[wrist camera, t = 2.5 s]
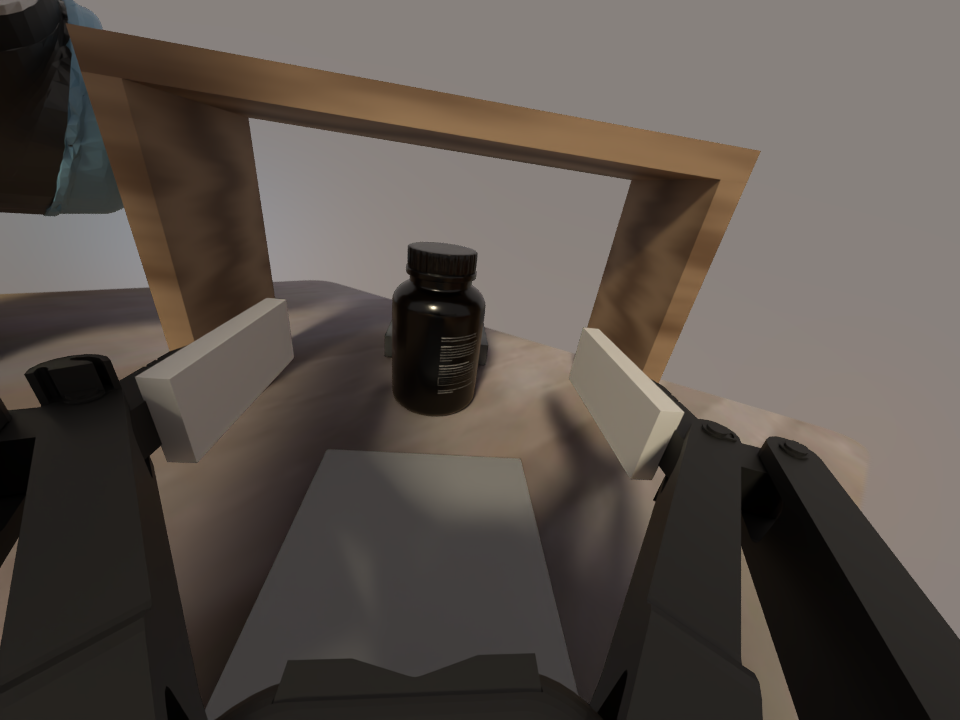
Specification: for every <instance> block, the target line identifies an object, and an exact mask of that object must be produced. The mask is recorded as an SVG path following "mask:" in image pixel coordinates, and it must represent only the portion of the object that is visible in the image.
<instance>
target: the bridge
mask: <svg viewBox="0 0 960 720" xmlns="http://www.w3.org/2000/svg"><path fill="white" fill-rule="evenodd" d="M66 26H67V29H68V33H69V36H70V39H71V42H72V45H73V48H74V51H75V55H76V58H77V61H78V64H79V67H80V70H81V73H82V77H83V80H84V83H85V86H86V89H87V92H88V95H89V99H90V102H91V105H92V108H93V111H94V114H95V117H96V121H97V124H98V127H99V130H100V133H101V136H102V139H103V143H104V146H105V149H106V152H107V155H108V158H109V161H110V165H111V168H112V171H113V174H114V177H115V180H116V183H117V187H118V190H119V193H120V196H121V199H122V202H123V205H124V208H125V212H126V215H127V218H128V221H129V224H130V227H131V231H132V234H133V237H134V240H135V243H136V246H137V249H138V252H139V256H140V259H141V262H142V265H143V268H144V271H145V274H146V278H147V281H148V284H149V287H150V290H151V294H152V297H153V300H154V303H155V306H156V309H157V312H158V316H159V319H160V322H161V325H162V328H163V331H164V334H165V338H166V341H167V344H168V347H169V350H170V351H172V350H175V349H178V348H181V347H184V346H187V345H189V344H191V343H192V342H194V341H196V340H197V339H199V338H201V337H202V336H204V335H206V334H207V333H209V332H211V331H212V330H214V329H216V328H217V327H219V326H221V325H222V324H224V323H226V322H227V321H229V320H231V319H232V318H234V317H236V316H237V315H239V314H241V313H242V312H244V311H246V310H247V309H249V308H251V307H252V306H254V305H256V304H257V303H259V302H261V301H262V300H264V299H266V298H275V296H274V289H273V282H272V275H271V269H270V262H269V255H268V248H267V241H266V235H265V228H264V221H263V214H262V209H261V201H260V194H259V188H258V181H257V174H256V167H255V160H254V153H253V147H252V140H251V133H250V126H249V120H248V118H255V119H261V120H267V121H273V122H279V123H285V124H292V125H297V126H303V127H310V128H316V129H322V130H328V131H334V132H340V133H347V134H353V135H359V136H365V137H371V138H377V139H383V140H389V141H395V142H402V143H408V144H414V145H420V146H427V147H432V148H438V149H444V150H451V151H457V152H464V153H469V154H475V155H482V156H487V157H493V158H500V159H506V160H512V161H518V162H524V163H530V164H536V165H542V166H549V167H555V168H561V169H567V170H573V171H579V172H585V173H591V174H598V175H604V176H610V177H616V178H622V179H629V180H632V181H631V184H630V187H629V191H628V194H627V197H626V201H625V204H624V207H623V211H622V214H621V218H620V220H619V224H618V227H617V231H616V234H615V237H614V241H613V244H612V247H611V250H610V254H609V257H608V261H607V264H606V267H605V271H604V274H603V277H602V280H601V284H600V287H599V290H598V294H597V297H596V300H595V303H594V307H593V310H592V314H591V317H590V320H589V323H588V327H587V328H595V329H599V330H600V331H601V332H602V333H603V334H604V335H605V336H606V337H607V338H608V339H610V340H611V341H612V342H613V343H614V344H615V345H616V346H617V347H618V348H619V349H620V350H621V351H622V352H623V353H624V354H625V355H626V356H627V357H628V358H629V359H630V360H631V361H632V362H633V363H634V364H635V365H636V366H637V367H638V368H639V369H640V370H641V371H642V372H643V373H644V374H645V375H647V376H648V377H649V378H650V379H652V380H654V381H655V382H657V383H659V381H660V379H661V376H662V374H663V372H664V369H665V367H666V365H667V363H668V360H669V358H670V356H671V354H672V351H673V349H674V347H675V344H676V342H677V340H678V338H679V335H680V333H681V331H682V329H683V326H684V324H685V322H686V319H687V317H688V315H689V313H690V310H691V308H692V306H693V304H694V301H695V299H696V297H697V295H698V292H699V290H700V288H701V286H702V283H703V281H704V279H705V276H706V274H707V272H708V270H709V267H710V265H711V263H712V261H713V258H714V256H715V253H716V251H717V249H718V247H719V245H720V242H721V240H722V238H723V236H724V233H725V231H726V229H727V226H728V224H729V222H730V220H731V217H732V215H733V213H734V211H735V208H736V206H737V204H738V201H739V199H740V197H741V195H742V192H743V190H744V188H745V186H746V183H747V181H748V179H749V176H750V174H751V172H752V170H753V167H754V165H755V163H756V161H757V158H758V156H759V154H760V152H761V151H758V150H752V149H747V148H741V147H736V146H731V145H725V144H719V143H714V142H709V141H703V140H697V139H692V138H686V137H682V136H676V135H670V134H665V133H660V132H654V131H649V130H644V129H638V128H633V127H627V126H622V125H616V124H611V123H606V122H600V121H594V120H589V119H583V118H578V117H573V116H567V115H562V114H557V113H551V112H545V111H540V110H535V109H529V108H524V107H518V106H513V105H508V104H502V103H497V102H491V101H486V100H481V99H475V98H470V97H464V96H459V95H453V94H448V93H443V92H437V91H432V90H426V89H421V88H416V87H410V86H405V85H399V84H394V83H388V82H383V81H378V80H371V79H366V78H361V77H355V76H350V75H345V74H339V73H334V72H328V71H323V70H318V69H312V68H307V67H301V66H296V65H291V64H285V63H279V62H274V61H269V60H263V59H258V58H253V57H247V56H241V55H236V54H231V53H226V52H220V51H215V50H209V49H204V48H198V47H193V46H188V45H182V44H177V43H171V42H166V41H160V40H155V39H150V38H144V37H139V36H133V35H128V34H122V33H116V32H111V31H106V30H101V29H95V28H90V27H84V26H79V25H74V24H68V23H66Z"/></svg>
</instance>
